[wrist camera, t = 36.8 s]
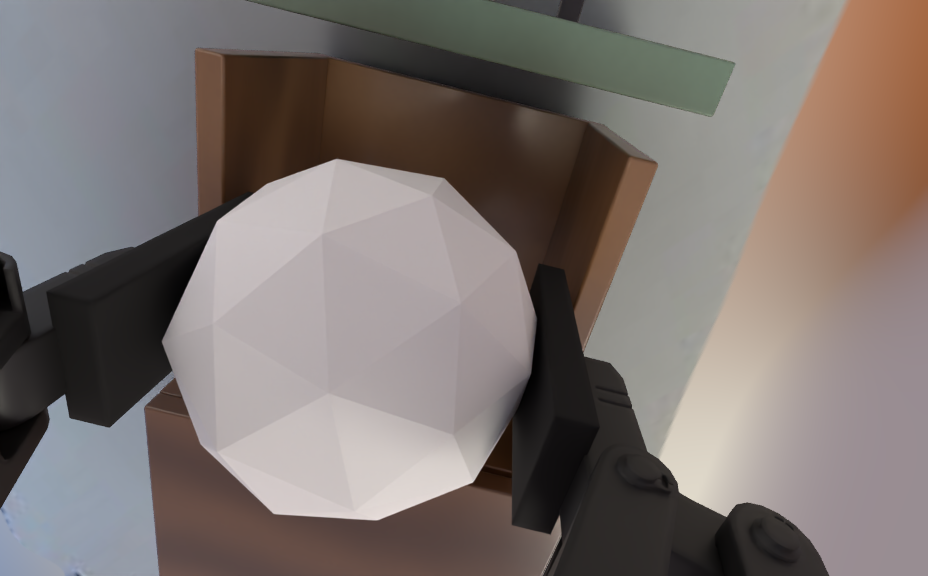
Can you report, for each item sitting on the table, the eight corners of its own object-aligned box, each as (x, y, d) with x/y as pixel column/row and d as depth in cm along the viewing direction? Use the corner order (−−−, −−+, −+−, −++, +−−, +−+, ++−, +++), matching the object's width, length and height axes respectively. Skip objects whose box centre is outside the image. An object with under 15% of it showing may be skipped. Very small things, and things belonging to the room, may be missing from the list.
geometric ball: (364, 210, 17) (119, 96, 9) (598, 232, 13) (492, 80, 6) (319, 429, 16) (26, 486, 9) (548, 511, 13) (371, 709, 6)
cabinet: (283, 276, 25) (142, 406, 16) (552, 342, 25) (574, 510, 16) (270, 483, 32) (166, 662, 23) (482, 534, 32) (468, 733, 23)
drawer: (321, -222, 16) (133, -499, 8) (708, -124, 16) (894, -301, 8) (286, 301, 25) (178, 413, 17) (536, 362, 25) (547, 502, 17)
